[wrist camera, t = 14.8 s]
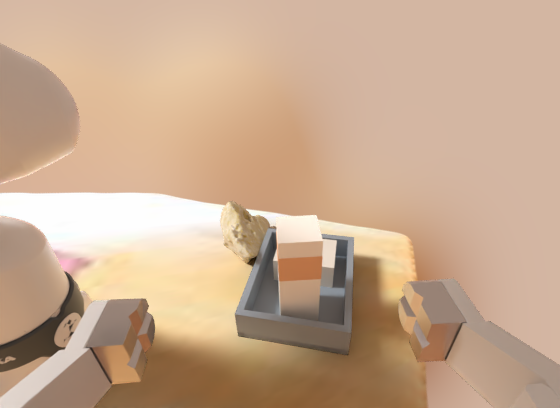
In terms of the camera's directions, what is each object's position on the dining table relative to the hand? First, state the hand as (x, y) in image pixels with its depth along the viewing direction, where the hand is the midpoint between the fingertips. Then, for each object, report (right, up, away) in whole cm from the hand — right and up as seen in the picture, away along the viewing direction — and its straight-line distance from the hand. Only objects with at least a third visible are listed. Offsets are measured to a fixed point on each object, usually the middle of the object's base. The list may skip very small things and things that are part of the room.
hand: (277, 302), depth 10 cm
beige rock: (-5, -7, +53) cm, 54 cm away
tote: (+4, -12, +44) cm, 46 cm away
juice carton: (+3, -13, +40) cm, 42 cm away
